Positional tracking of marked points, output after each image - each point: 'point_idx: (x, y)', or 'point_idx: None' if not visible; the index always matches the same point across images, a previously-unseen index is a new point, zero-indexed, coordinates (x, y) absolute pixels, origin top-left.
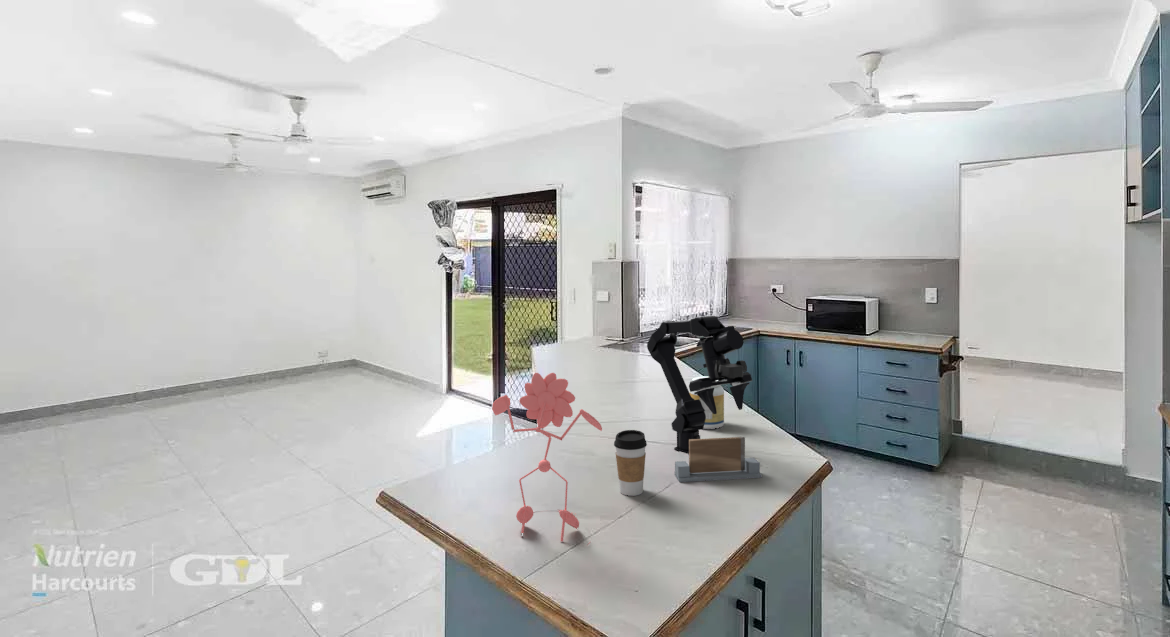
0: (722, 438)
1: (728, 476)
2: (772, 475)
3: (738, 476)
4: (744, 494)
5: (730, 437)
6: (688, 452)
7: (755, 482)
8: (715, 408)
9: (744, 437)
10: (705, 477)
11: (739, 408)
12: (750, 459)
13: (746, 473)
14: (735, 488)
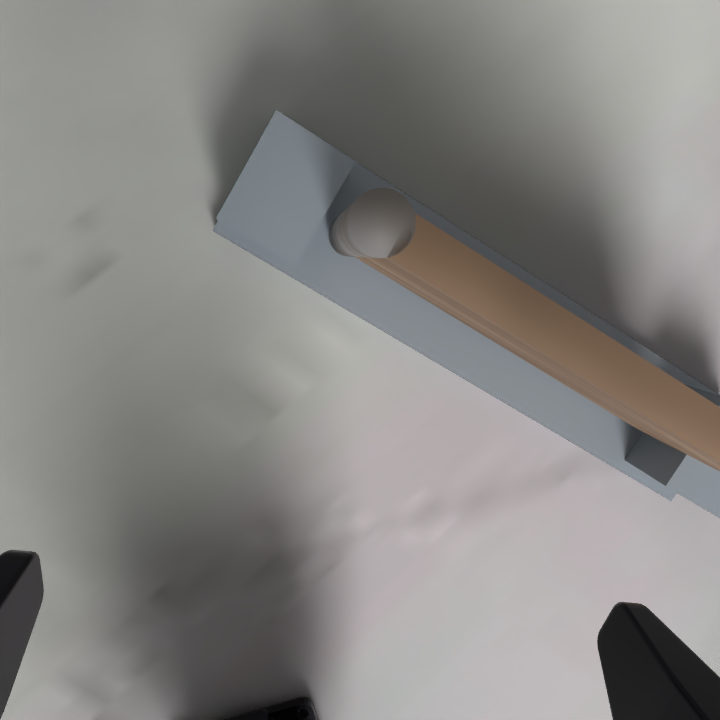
0: (565, 338)
1: (479, 241)
2: (182, 93)
3: (420, 204)
4: (590, 13)
5: (473, 308)
6: (316, 717)
7: (379, 92)
8: (684, 675)
9: (354, 206)
10: (603, 321)
11: (34, 596)
12: (278, 206)
13: (355, 188)
14: (555, 114)
